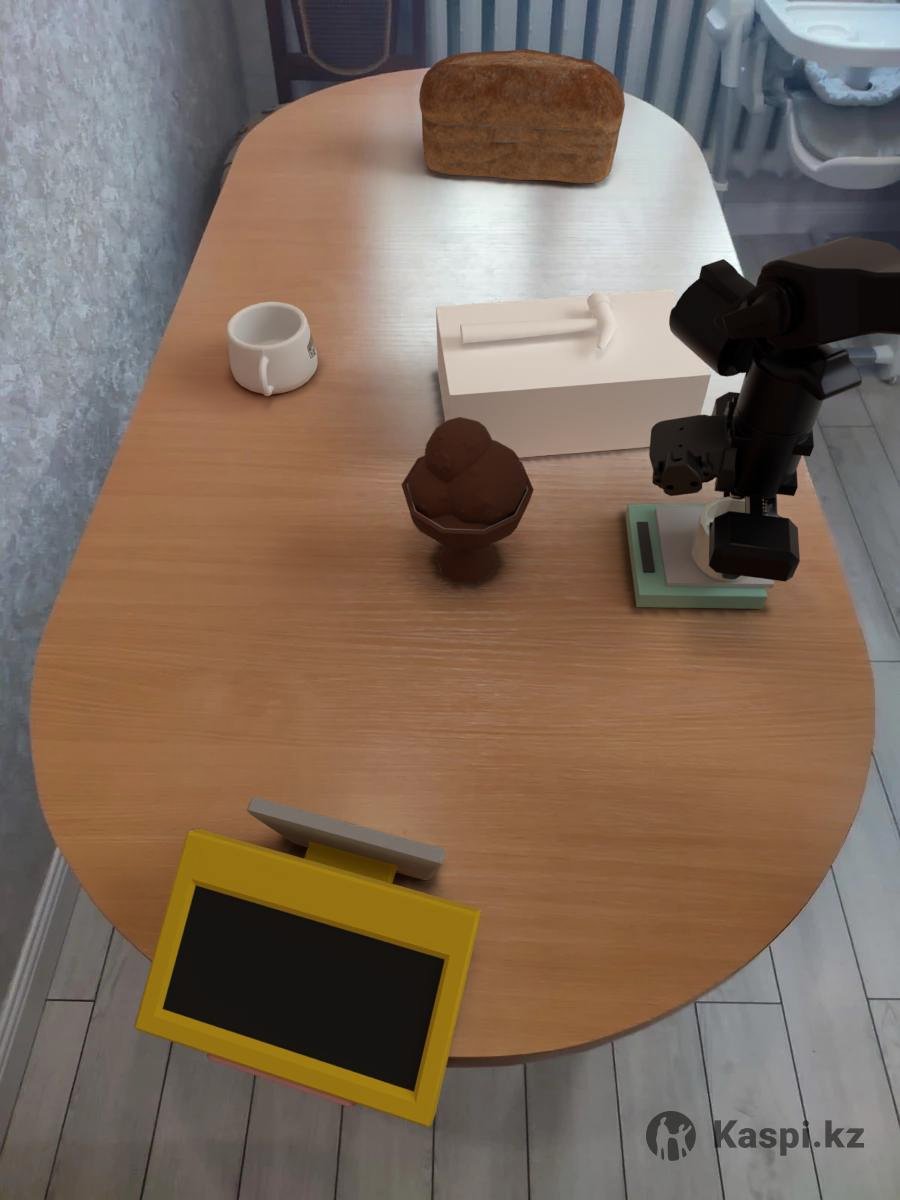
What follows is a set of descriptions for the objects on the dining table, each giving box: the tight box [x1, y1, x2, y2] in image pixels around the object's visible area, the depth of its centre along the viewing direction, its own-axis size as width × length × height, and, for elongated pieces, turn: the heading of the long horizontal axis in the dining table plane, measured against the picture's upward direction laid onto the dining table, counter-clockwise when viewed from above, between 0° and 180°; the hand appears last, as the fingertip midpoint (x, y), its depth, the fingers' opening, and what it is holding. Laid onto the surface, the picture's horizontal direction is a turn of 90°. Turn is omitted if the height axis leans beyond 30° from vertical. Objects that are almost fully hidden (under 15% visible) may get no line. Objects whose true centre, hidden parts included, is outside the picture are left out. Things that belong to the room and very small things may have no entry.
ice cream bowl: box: [400, 417, 534, 584], centre depth 77 cm, size 11×11×15 cm
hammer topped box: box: [435, 288, 712, 459], centre depth 91 cm, size 14×25×11 cm, turn 96°
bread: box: [418, 48, 626, 184], centre depth 123 cm, size 12×28×14 cm, turn 80°
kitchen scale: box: [624, 503, 775, 610], centre depth 81 cm, size 12×11×2 cm
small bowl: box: [691, 496, 764, 581], centre depth 77 cm, size 6×6×5 cm
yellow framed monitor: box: [134, 796, 482, 1128], centre depth 58 cm, size 20×8×16 cm
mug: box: [226, 301, 319, 397], centre depth 97 cm, size 12×10×6 cm
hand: (728, 550), depth 78 cm, fingers closed on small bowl, 6 cm apart
